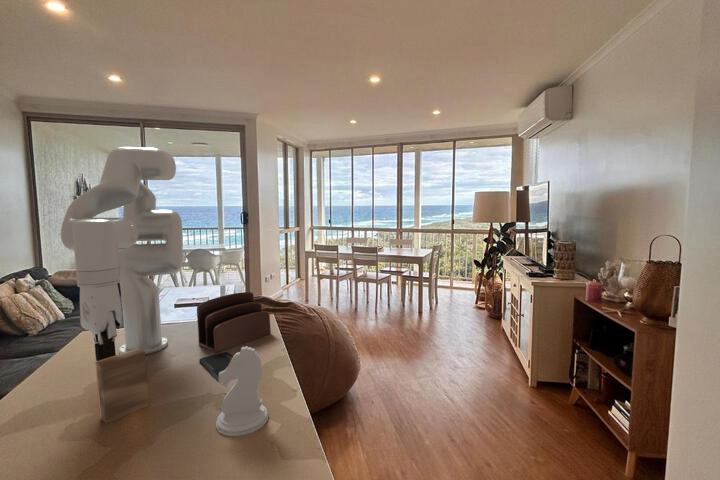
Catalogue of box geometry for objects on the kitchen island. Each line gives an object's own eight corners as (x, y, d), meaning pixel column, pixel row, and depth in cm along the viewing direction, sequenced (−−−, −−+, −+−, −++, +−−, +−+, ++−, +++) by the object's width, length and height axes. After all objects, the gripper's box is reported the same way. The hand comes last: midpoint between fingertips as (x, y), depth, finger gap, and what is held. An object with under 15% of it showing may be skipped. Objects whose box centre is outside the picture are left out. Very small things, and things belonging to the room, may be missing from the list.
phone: (226, 351, 103) (248, 368, 92) (226, 354, 103) (248, 372, 92) (197, 359, 98) (217, 378, 87) (198, 363, 98) (217, 382, 87)
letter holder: (198, 345, 110) (195, 301, 109) (253, 328, 125) (251, 288, 124) (215, 354, 104) (212, 306, 102) (271, 334, 119) (269, 292, 118)
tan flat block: (100, 418, 72) (95, 361, 71) (142, 400, 79) (138, 348, 77) (106, 423, 70) (101, 365, 69) (149, 405, 77) (145, 351, 76)
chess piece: (222, 409, 75) (218, 340, 74) (270, 404, 77) (267, 336, 75) (210, 439, 65) (205, 360, 64) (265, 433, 67) (262, 356, 65)
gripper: (65, 276, 78) (73, 357, 79) (91, 284, 69) (99, 375, 71) (105, 271, 84) (111, 346, 86) (133, 277, 75) (140, 361, 77)
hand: (106, 359), depth 78 cm, fingers closed
